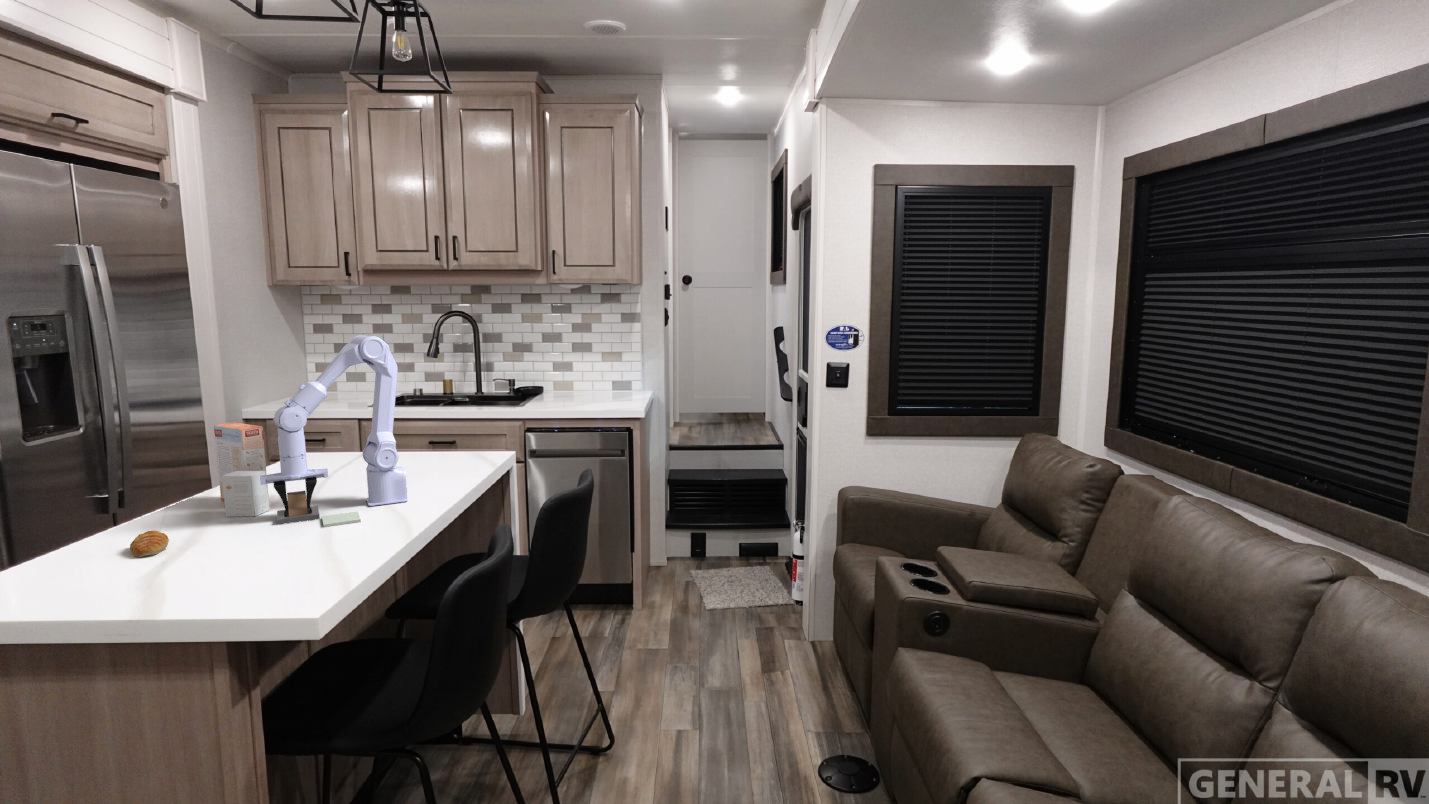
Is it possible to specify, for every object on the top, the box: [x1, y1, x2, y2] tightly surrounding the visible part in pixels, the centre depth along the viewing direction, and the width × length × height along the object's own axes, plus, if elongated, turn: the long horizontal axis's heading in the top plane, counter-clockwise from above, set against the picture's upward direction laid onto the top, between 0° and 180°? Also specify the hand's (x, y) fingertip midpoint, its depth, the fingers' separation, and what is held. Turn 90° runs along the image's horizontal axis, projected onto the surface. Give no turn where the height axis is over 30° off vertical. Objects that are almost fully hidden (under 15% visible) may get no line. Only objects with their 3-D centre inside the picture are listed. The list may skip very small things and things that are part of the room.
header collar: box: [276, 505, 320, 525], centre depth 185 cm, size 9×9×1 cm
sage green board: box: [321, 511, 362, 528], centre depth 182 cm, size 8×8×1 cm
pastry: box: [129, 529, 170, 558], centre depth 161 cm, size 9×7×4 cm
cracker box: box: [213, 422, 269, 502], centre depth 198 cm, size 14×6×21 cm, turn 58°
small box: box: [221, 471, 271, 517], centre depth 188 cm, size 8×6×10 cm
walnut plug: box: [286, 490, 309, 517], centre depth 185 cm, size 4×4×6 cm
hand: (297, 508), depth 185 cm, fingers closed on walnut plug, 4 cm apart
